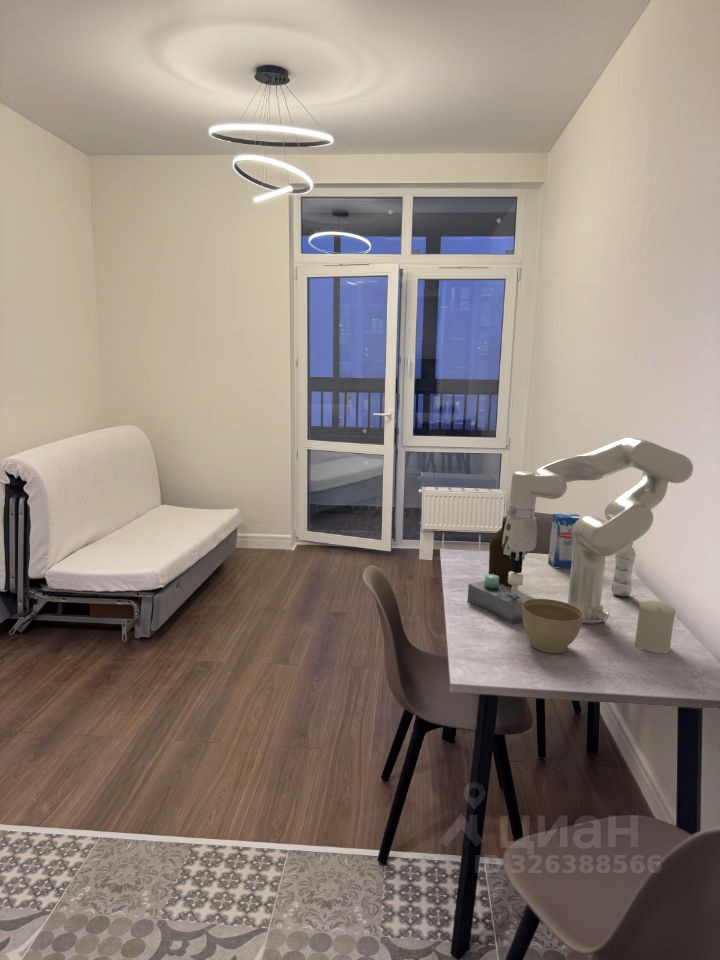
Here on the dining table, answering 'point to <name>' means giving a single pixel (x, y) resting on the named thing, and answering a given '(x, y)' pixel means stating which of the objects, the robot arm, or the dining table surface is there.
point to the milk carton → (562, 540)
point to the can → (654, 626)
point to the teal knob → (491, 581)
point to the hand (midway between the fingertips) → (515, 571)
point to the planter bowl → (551, 624)
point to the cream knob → (515, 582)
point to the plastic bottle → (623, 571)
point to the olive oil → (499, 557)
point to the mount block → (498, 601)
